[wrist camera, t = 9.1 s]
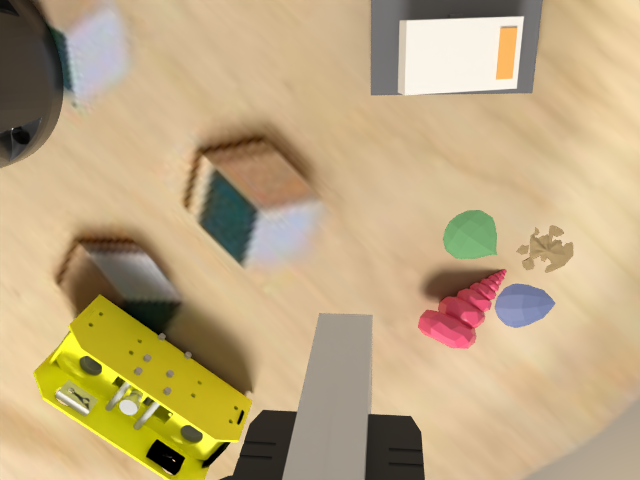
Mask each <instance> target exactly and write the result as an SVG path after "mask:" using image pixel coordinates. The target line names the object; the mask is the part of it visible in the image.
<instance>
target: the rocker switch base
mask: <svg viewBox="0 0 640 480" xmlns="http://www.w3.org/2000/svg"><path fill="white" fill-rule="evenodd" d="M542 1H543V0H371V95H403V94H400V93H398V66H399V23H400V20H423V19H451V18H478V17H506V16H524V21H523V31H522V40H521V50H520V60H519V70H518V80H517V89H501V90H485V91H468V92H452V93H435V94H505V93H532V90H533V81H534V72H535V63H536V54H537V45H538V37H539V28H540V19H541V10H542ZM419 95H428V94H419Z"/></svg>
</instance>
